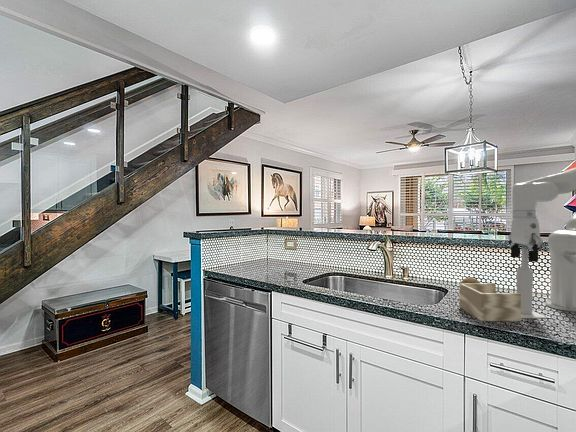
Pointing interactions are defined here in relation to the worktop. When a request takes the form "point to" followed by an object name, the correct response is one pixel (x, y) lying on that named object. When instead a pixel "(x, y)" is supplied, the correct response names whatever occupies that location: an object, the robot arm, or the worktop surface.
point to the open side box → (489, 302)
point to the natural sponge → (470, 280)
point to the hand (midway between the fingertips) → (524, 259)
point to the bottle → (525, 284)
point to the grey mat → (533, 315)
